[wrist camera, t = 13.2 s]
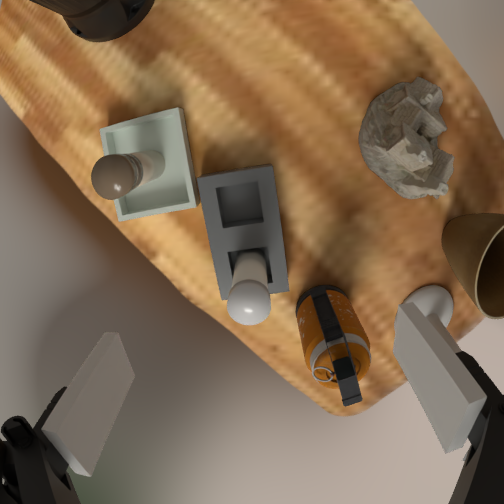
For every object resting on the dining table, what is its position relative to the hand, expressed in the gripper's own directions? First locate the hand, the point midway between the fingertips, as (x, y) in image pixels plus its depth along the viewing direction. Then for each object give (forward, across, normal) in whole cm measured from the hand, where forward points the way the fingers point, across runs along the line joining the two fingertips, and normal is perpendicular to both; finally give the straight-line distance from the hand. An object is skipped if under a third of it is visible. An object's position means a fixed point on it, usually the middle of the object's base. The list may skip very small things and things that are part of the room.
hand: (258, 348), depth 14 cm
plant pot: (+35, +34, -8) cm, 49 cm away
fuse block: (+34, -2, -4) cm, 35 cm away
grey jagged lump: (+34, +24, +8) cm, 43 cm away
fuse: (+33, -2, -8) cm, 34 cm away
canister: (+35, +8, -17) cm, 40 cm away
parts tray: (+34, -14, +8) cm, 38 cm away
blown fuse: (+34, -14, +8) cm, 37 cm away
